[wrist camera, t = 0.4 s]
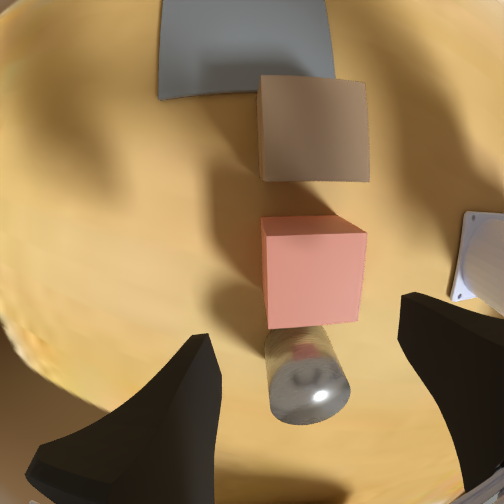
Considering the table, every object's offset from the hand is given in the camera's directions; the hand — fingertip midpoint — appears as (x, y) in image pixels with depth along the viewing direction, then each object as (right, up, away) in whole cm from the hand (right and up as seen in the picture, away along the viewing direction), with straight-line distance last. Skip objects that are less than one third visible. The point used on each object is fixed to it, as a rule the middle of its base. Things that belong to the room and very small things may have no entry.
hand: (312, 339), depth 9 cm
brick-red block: (+1, +3, +9) cm, 10 cm away
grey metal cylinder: (+1, -4, +11) cm, 12 cm away
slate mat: (-3, +18, +4) cm, 19 cm away
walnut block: (+1, +10, +7) cm, 12 cm away
